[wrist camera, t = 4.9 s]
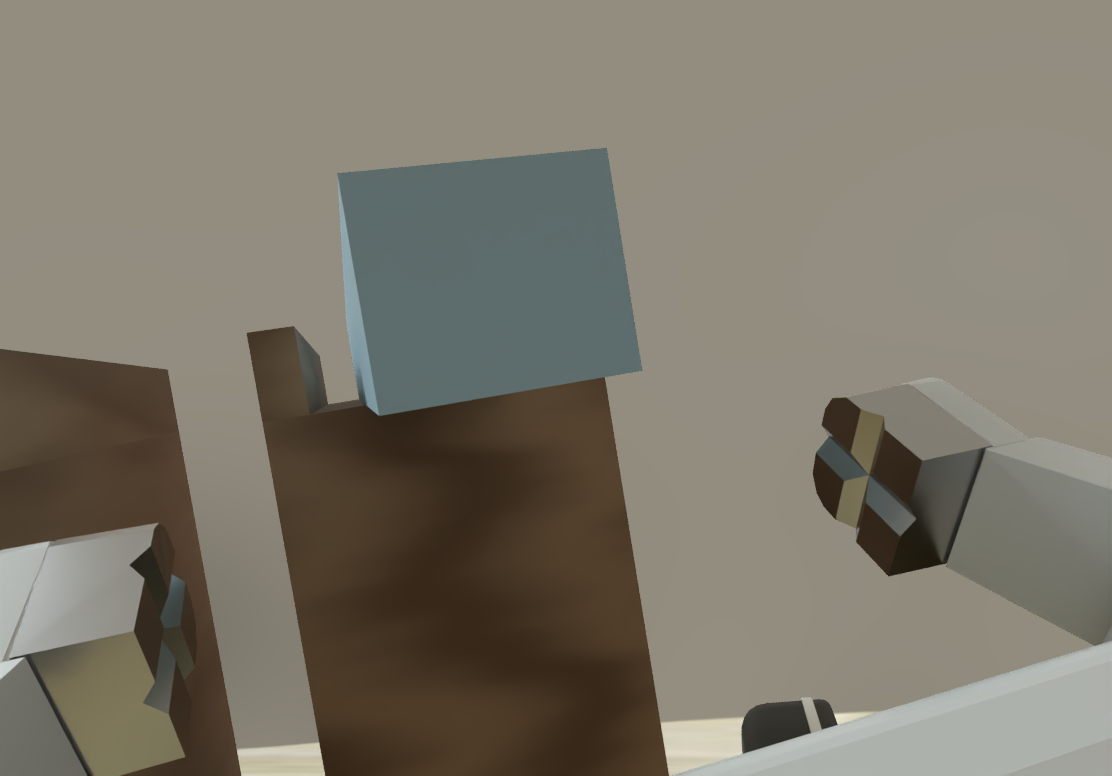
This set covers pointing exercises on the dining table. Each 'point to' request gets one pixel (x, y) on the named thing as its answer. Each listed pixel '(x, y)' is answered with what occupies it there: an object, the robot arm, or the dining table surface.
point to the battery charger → (784, 722)
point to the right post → (460, 578)
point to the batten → (483, 278)
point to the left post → (111, 498)
